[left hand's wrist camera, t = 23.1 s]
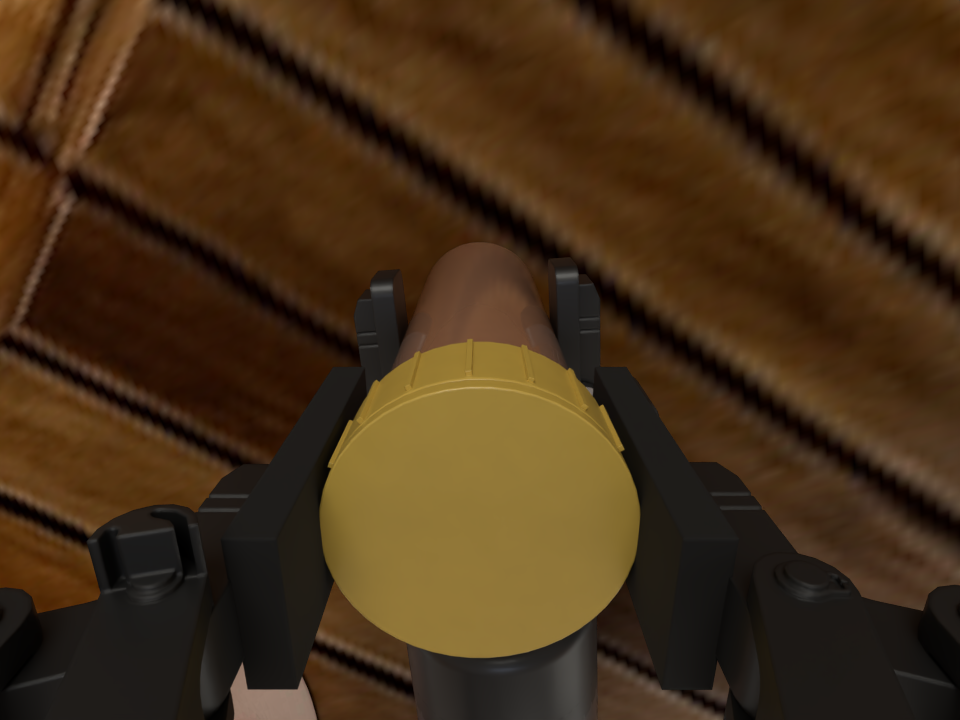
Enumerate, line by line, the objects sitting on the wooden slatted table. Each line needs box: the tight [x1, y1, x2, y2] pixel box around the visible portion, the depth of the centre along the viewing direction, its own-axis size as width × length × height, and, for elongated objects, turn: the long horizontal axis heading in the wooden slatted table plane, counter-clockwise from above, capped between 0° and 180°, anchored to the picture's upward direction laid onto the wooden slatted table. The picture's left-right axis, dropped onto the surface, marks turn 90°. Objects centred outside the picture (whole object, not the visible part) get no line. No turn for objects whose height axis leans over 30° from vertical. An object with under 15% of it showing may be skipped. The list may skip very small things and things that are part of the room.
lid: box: [319, 339, 640, 658], centre depth 11 cm, size 6×6×2 cm
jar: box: [390, 242, 569, 372], centre depth 18 cm, size 5×5×16 cm
